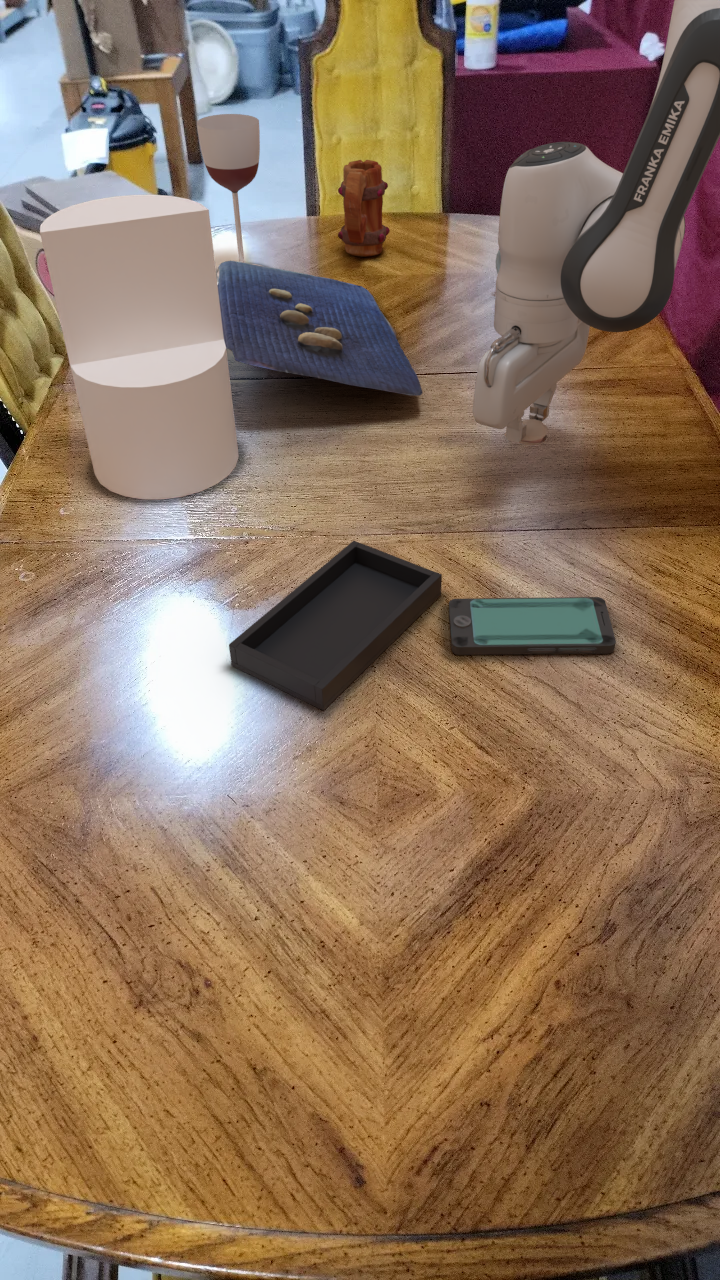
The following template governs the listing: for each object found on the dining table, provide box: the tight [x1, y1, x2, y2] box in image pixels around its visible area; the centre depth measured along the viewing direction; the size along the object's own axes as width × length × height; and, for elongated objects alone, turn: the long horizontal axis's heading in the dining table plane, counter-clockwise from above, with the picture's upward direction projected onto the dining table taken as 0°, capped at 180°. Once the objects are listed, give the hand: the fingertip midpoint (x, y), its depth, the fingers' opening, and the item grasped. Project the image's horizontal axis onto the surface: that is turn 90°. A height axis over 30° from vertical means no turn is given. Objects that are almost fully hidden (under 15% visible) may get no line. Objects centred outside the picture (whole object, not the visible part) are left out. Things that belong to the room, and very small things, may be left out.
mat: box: [217, 260, 423, 397], centre depth 141 cm, size 45×27×12 cm, turn 10°
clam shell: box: [503, 418, 548, 447], centre depth 114 cm, size 4×5×2 cm
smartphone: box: [448, 596, 617, 656], centre depth 94 cm, size 7×1×15 cm
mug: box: [337, 159, 391, 257], centre depth 165 cm, size 15×8×15 cm, turn 168°
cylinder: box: [39, 194, 240, 500], centre depth 110 cm, size 17×17×28 cm
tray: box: [228, 540, 443, 711], centre depth 94 cm, size 11×20×3 cm, turn 145°
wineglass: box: [196, 113, 262, 279], centre depth 158 cm, size 9×10×23 cm
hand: (527, 429), depth 114 cm, fingers closed on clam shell, 4 cm apart
